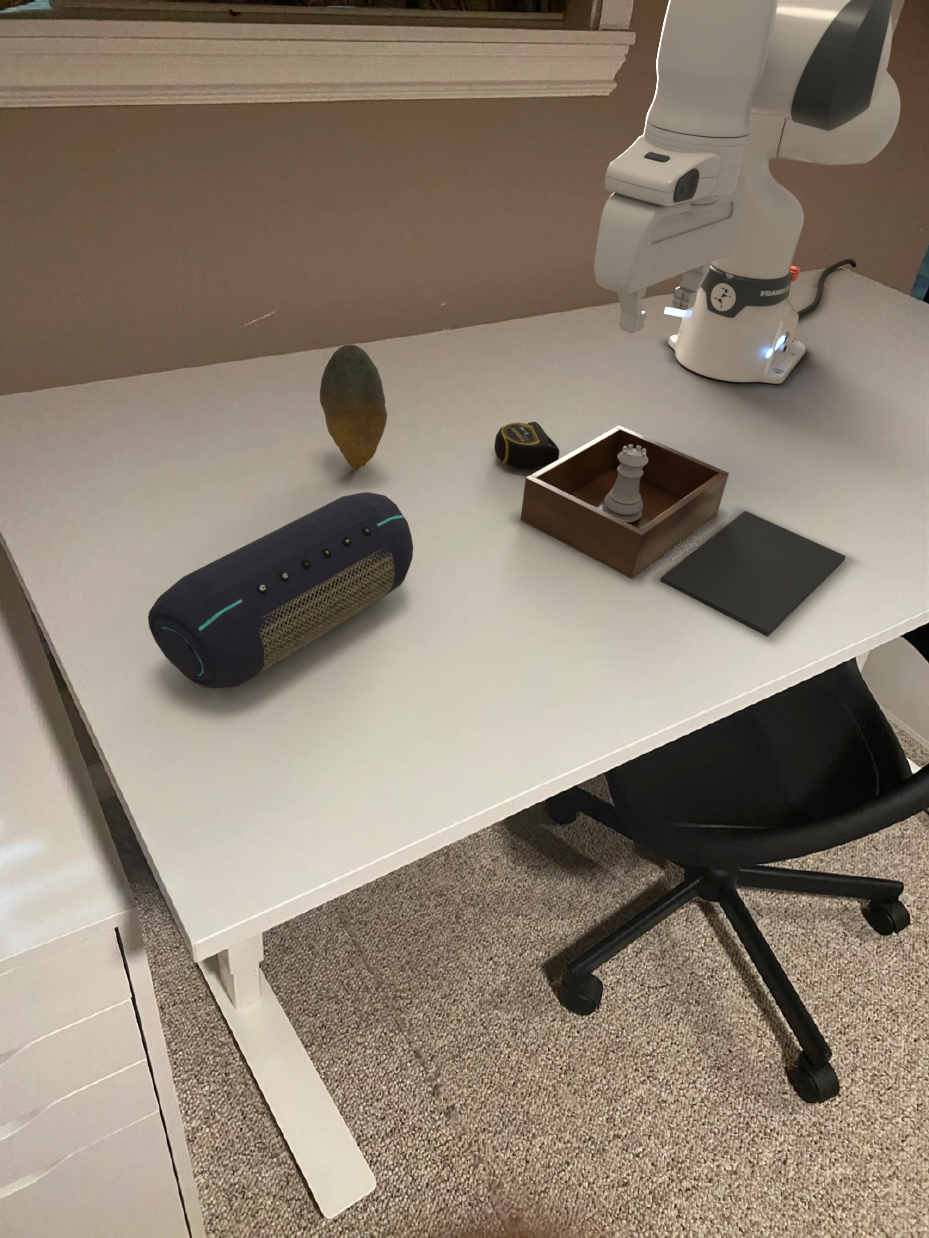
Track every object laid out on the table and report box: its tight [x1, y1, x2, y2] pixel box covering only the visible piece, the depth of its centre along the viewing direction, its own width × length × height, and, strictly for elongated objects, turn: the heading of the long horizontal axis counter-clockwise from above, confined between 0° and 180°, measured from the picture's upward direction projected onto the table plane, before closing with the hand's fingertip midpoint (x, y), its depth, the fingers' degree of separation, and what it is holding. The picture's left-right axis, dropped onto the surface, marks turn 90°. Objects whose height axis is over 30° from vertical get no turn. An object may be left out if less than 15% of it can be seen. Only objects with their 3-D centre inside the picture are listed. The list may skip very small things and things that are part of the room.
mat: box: [659, 510, 847, 637], centre depth 95 cm, size 18×12×1 cm, turn 138°
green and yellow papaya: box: [319, 344, 388, 473], centre depth 100 cm, size 10×6×15 cm, turn 37°
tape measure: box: [494, 421, 560, 471], centre depth 108 cm, size 7×7×4 cm
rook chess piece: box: [602, 444, 648, 524], centre depth 98 cm, size 4×4×8 cm
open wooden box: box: [519, 425, 730, 579], centre depth 99 cm, size 18×15×5 cm
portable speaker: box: [147, 491, 414, 690], centre depth 80 cm, size 25×10×10 cm, turn 139°
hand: (657, 318), depth 89 cm, fingers open, 8 cm apart
